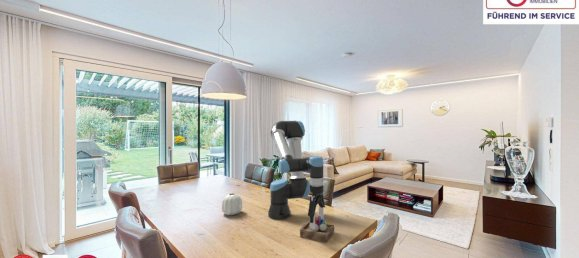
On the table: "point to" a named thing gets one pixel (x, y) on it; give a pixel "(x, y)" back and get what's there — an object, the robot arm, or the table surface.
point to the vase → (231, 204)
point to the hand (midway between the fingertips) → (317, 223)
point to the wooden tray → (317, 233)
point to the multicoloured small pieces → (319, 224)
